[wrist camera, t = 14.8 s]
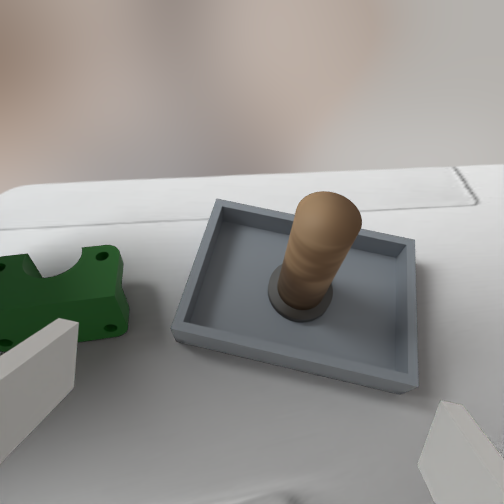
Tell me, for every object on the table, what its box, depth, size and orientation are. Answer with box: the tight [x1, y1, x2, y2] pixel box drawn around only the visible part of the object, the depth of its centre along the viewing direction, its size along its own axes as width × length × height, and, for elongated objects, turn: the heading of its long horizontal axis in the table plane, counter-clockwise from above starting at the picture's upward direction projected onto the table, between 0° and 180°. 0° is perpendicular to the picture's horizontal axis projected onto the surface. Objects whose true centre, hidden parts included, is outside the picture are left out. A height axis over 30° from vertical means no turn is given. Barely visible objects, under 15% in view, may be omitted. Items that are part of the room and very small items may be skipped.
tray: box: [171, 199, 419, 394], centre depth 33 cm, size 20×14×4 cm
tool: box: [268, 191, 362, 323], centre depth 29 cm, size 6×6×12 cm
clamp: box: [0, 245, 129, 352], centre depth 31 cm, size 12×6×9 cm, turn 93°
